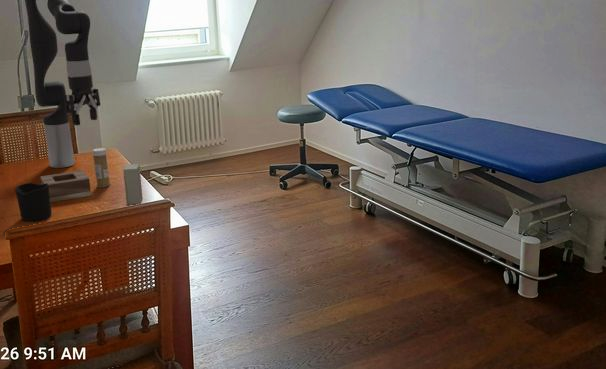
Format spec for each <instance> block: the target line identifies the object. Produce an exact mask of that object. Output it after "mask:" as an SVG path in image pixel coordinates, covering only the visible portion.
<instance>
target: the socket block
mask: <svg viewBox="0 0 606 369" xmlns="http://www.w3.org/2000/svg"><path fill="white" fill-rule="evenodd" d="M39 178H40V185H42V184H45V183H48V185H49V194H50V203H54V202H55V203H56V202H60V201H66V200H72V199H79V198H85V197H90V196H91V197H92V191H91V184H90V178H89V176H87V174H86V173H85V172H84V170H77V171H76V170H75V171H69V172H62V173H56V174H48V175H42V176H39Z"/></svg>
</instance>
